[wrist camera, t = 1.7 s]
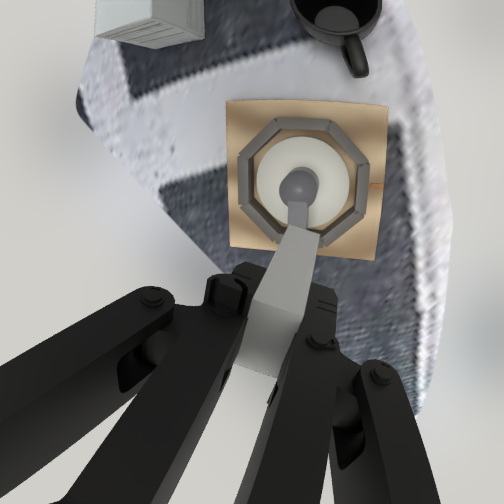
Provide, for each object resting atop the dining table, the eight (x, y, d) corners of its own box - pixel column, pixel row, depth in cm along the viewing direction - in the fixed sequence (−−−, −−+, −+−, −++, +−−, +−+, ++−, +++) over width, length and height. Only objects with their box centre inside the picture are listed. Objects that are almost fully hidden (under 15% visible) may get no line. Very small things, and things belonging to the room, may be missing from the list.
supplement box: (155, 5, 31) (95, -19, 20) (205, -8, 29) (154, -43, 18) (154, 51, 34) (91, 37, 23) (206, 40, 32) (151, 17, 21)
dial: (259, 134, 34) (244, 138, 28) (351, 139, 31) (354, 143, 26) (260, 257, 40) (247, 280, 34) (340, 265, 37) (340, 291, 32)
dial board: (231, 101, 35) (218, 100, 31) (385, 107, 31) (392, 106, 27) (234, 240, 42) (223, 254, 38) (372, 253, 38) (375, 269, 34)
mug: (319, 91, 32) (313, 82, 24) (293, 2, 28) (278, -30, 19) (388, 82, 29) (405, 70, 21) (360, -9, 25) (365, -43, 17)
